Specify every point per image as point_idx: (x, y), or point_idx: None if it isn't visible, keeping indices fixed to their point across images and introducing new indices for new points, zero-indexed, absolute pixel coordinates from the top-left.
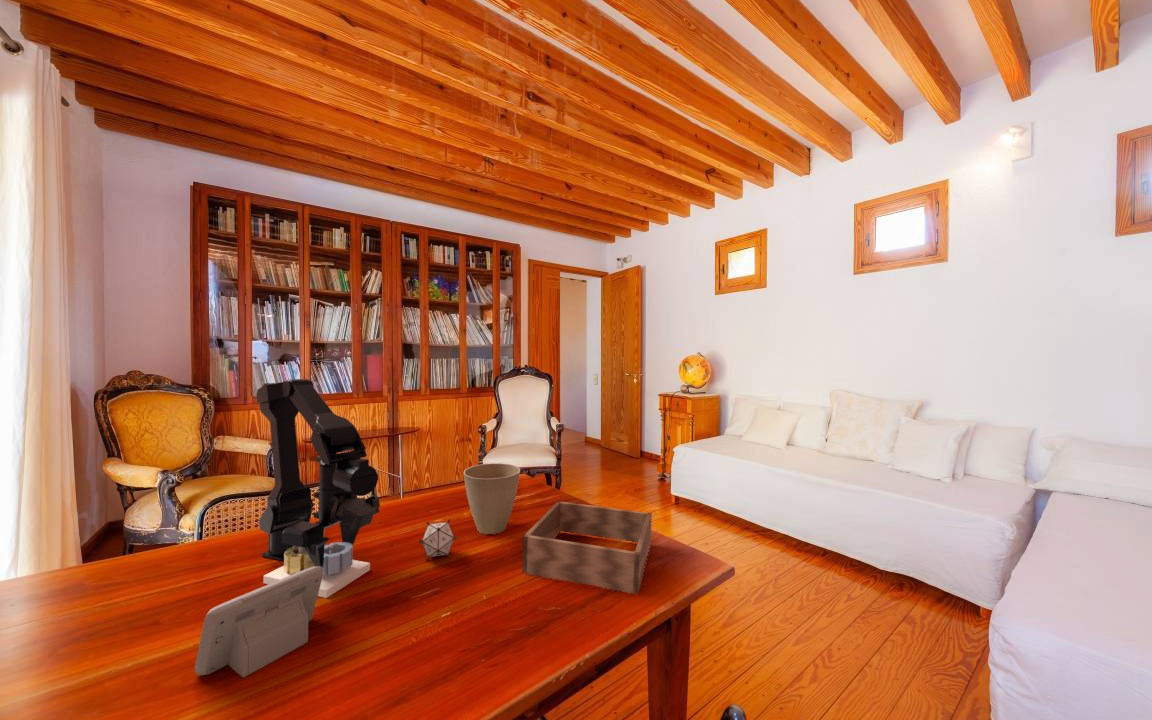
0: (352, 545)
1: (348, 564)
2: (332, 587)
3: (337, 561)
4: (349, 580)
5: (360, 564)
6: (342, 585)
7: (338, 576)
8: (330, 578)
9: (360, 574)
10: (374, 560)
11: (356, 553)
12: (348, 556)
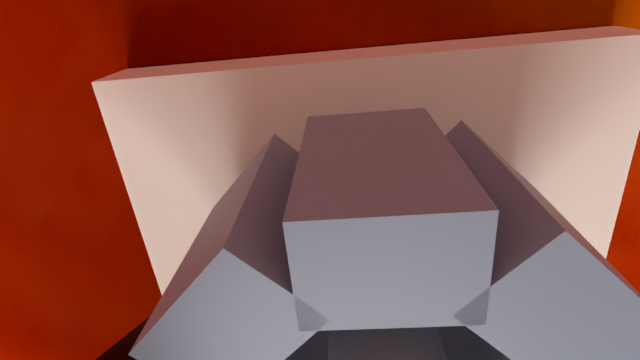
0: (156, 326)
1: (347, 126)
2: (582, 36)
3: (535, 196)
4: (359, 51)
5: (162, 145)
6: (442, 42)
7: None
8: None
9: (230, 62)
10: (18, 162)
11: (58, 335)
12: (349, 172)
